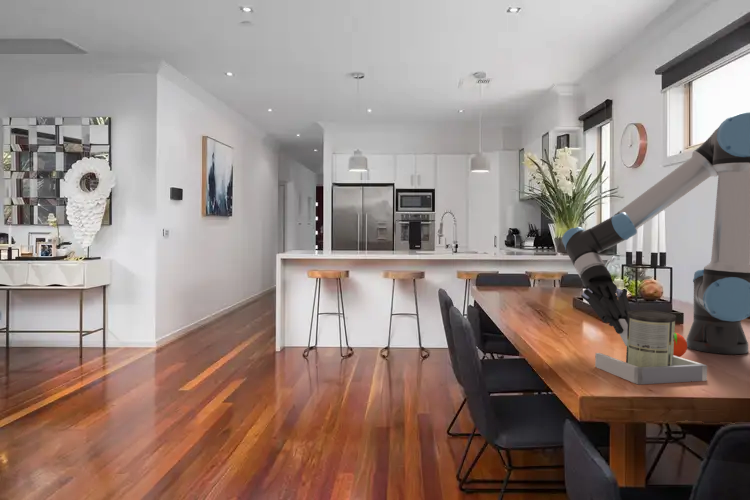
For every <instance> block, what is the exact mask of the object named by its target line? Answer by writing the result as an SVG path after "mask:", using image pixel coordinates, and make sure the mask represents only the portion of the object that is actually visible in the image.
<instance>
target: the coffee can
mask: <svg viewBox="0 0 750 500" xmlns="http://www.w3.org/2000/svg"><path fill="white" fill-rule="evenodd" d="M676 319H677V315H675V314H674V313H670V312H664V311H661V310H660V311H659V310H649V309H632V310H631V311H628V329H627V346H626V355H625V356H626V357H625V362H626V363H629V364H632V365H634V366H637V367H655V366H673V351H674V333H676V332H675V329H676V327H675V326H676Z"/></svg>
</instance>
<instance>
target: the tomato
mask: <svg viewBox="0 0 750 500" xmlns="http://www.w3.org/2000/svg"><path fill="white" fill-rule="evenodd" d="M687 350H688V347H687V342H686V339H685V337H684V336H683V335H681V334H680V333H678V332H674V351H673V355H674V356H678V357H681V358H682V356H683V355H685V354H686V352H687Z"/></svg>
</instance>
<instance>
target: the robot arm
mask: <svg viewBox="0 0 750 500" xmlns="http://www.w3.org/2000/svg"><path fill="white" fill-rule="evenodd" d="M691 154H692V155H691V157H690V158H688V159H687V160H686V161H685V162H683V163H682V164H681V165H679V166H678V167H677V168H675V169H674V170H672V171H671V172H670V173H668V174H667V175H666V176H664V177H663V178H661V180H659V181H658V182H656V183H655V184H654V185H652V186H651V187H649V188H648V189H647V190H646V191H644V192H643V193H641V194H640V195H639V196H638V197H636V198H635V199H634V200H632V201H631V202H630V203H628V204H627V205H625V206H624V207H623V208H621V210H619V211H618V212H617V213H615V214H612V216H611V217H609V218H607V219H605V220H603V221H602V222H600V223H598V224H597V225H595V226H592V227H591V228H587V229H585V228H584V227H580V226H576V227H571V228H569V229H568V230H566V231H565V232H564V234H563V235H562V239H561V243H562V244H563V246H564V248H565V249H564V250H565V252H566V253H567V256H568V257H569V259H570V261H571V263H572V265H573V266H574V269H575V270H576V272H577V274H578V276H579V278H580V280H581V282H582V284H583V286H584V288H585V289H584V290H583V292H582V294H581V295H580V296H581V298H582V299H583V300H584V301H586V302H587V303H588V305H589V306H590V307H591V308H592V310H594V312H595V313H596V314H597V316H598V317H599V318H600V319H601V321H602V322H603V323H605V324H607V323H608V326H610V327H613V328H614V331H615V332H616V334H617V335H618V334H619V336H620V338H621V340H622V342H623V344H624V345H625V347H627V329H628V311H632V310H631V306H630V301H629V299H628V296H627V294H628V290H627V289H626V288H623V289H620V288H618V286H617V285H616V284H615V283H614V282H613V278H612V275H611V273H610V271H609V269H608V268H607V266H606V264H605V263H604V260H603V259H602V257H601V255H600V254H599V253H602V252H604V251H605V250H608V249H610V248H611V247H614V246H616V245H618V244H620V243H622V242H624V241H626V240H629V239H630V238H632V237H633V236H635V235H636V234H637V233H638V231H637V229H639V228H641V227H642V226H643V225H645V224H646V223H648V222H649V221H650V220H652V219H653V218H655V216H657V215H659V214H660V213H662V212H663V211H665V209H667V208H669V207H670V206H671V205H673V204H674V203H675V202H677V201H678V200H680V199H681V198H682V197H684V196H685V195H686V194H689V192H691V191H693V190H694V189H695V188H697V187H698V186H700V184H702V183H704V182H705V181H706V180H708V179H709V178H710V177H714V178H715V177H717V188H716V199H715V211H714V223H713V234H712V235H713V236H712V246H711V258H710V259H711V260H710V262H709V263H708V264H706V265H705V266H704V268H703V269H698V270H696V271H695V272H694V273H693V279H692V282H693V320H692V324H691V326H690V329H689V332H688V334H687V336H686V339H685V340H686V342H687V349H691V350H695V351H697V352H698V351H699V352H704V353H712V354H723V355H741V354H747V353H749V342H748V339H747V337H746V334H745V332H744V329H743V327H742V326H743V325H742V320H745V319H747V318H749V317H750V111H746V112H740V113H735V114H733V115H732V116H729V117H727V118H726V119H724V120H723V121H722V122H721V123H720V125H718V127H717V128H716V129H715V130H714V131H713V132H712V134H711V135H710V136H709V137H708V138H707V139H706V141H704V142H703V143H702V144H701V145H700V146H699V147H698V148H696V149H695V150H694V151H692V152H691Z"/></svg>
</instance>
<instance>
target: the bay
mask: <svg viewBox="0 0 750 500" xmlns="http://www.w3.org/2000/svg"><path fill="white" fill-rule="evenodd" d="M594 363H595V368H597V369H599V370H601V371H604V372H606V373H609V374H612V375H613V376H615V377H616V376H617V377H618V378H621V379H624V380H625V381H628V382H631V383H633V384H636V385H652V384H653V385H654V384H670V383H673V384H674V383H686V382H687V383H690V382H691V381H692V382H705V381H706V382H707V381H708V365H707V364H704V363H701V362H697V361H693V360H691V359H687V358H684V357H682V356H681V357H678V356H674V355H673V366H655V367H637V366H634V365H632V364H629V363H626V361H623V360H620V359H617V358H615V357H612V356H610V355H606V354H604V353H601V352H595V362H594Z"/></svg>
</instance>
